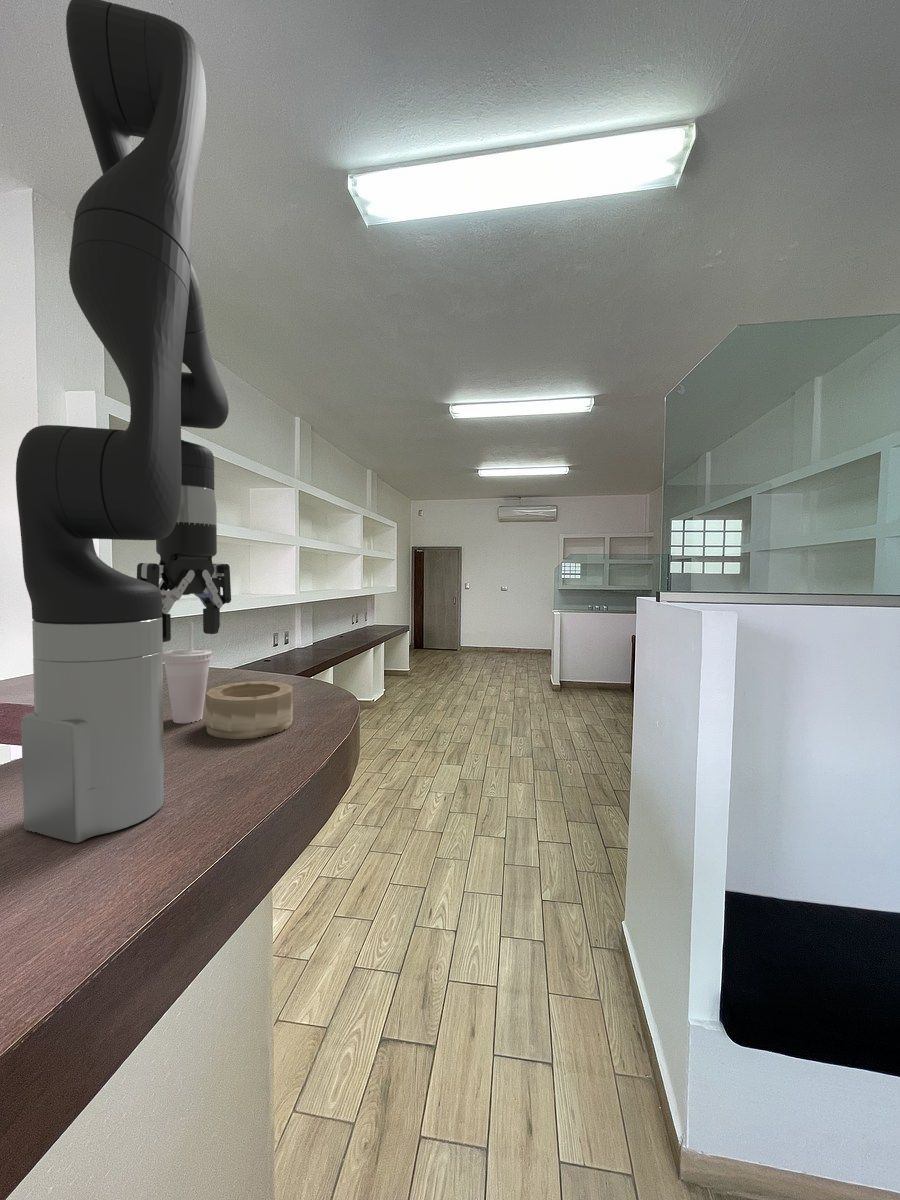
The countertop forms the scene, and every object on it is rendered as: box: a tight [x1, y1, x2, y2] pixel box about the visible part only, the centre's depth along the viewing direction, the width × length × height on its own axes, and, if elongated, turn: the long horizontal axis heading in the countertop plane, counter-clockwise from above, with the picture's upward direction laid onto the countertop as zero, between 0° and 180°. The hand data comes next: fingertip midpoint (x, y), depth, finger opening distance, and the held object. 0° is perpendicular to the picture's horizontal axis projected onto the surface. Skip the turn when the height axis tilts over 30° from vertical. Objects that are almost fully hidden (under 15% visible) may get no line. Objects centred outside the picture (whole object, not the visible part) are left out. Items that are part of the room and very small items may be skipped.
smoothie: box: [163, 620, 213, 724], centre depth 72 cm, size 6×6×14 cm
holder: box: [205, 680, 294, 740], centre depth 70 cm, size 11×11×5 cm
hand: (188, 637), depth 72 cm, fingers open, 8 cm apart
